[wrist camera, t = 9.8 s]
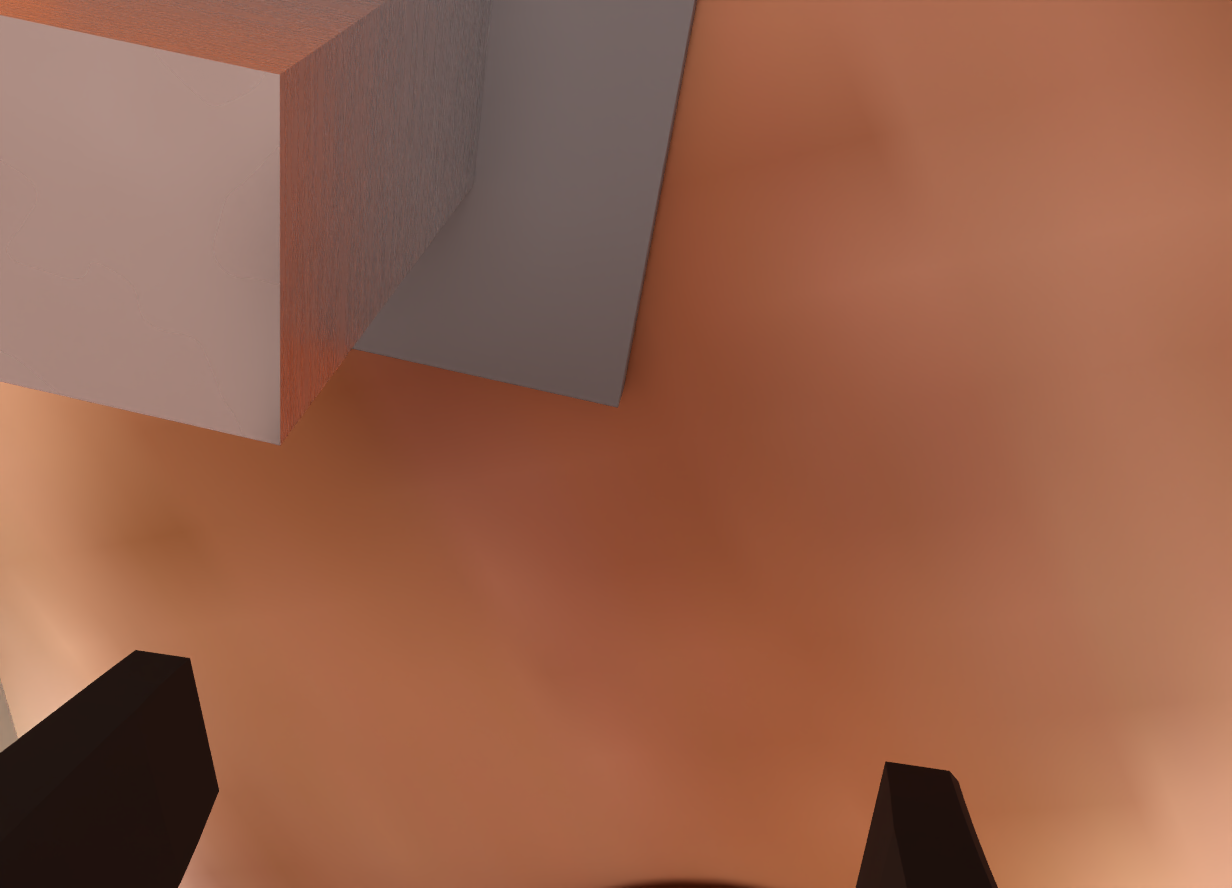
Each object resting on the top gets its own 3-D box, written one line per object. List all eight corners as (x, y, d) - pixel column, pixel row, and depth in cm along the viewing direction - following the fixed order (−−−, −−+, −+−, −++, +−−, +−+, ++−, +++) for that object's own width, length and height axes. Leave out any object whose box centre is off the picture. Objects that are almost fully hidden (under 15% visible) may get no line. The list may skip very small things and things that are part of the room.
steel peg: (499, -77, 17) (279, 74, 10) (474, 183, 19) (280, 444, 13) (234, -132, 17) (-151, -17, 11) (239, 132, 19) (-75, 363, 13)
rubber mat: (740, -227, 16) (737, -224, 16) (623, 391, 22) (617, 407, 21) (41, -363, 16) (17, -365, 16) (103, 276, 22) (86, 289, 22)
